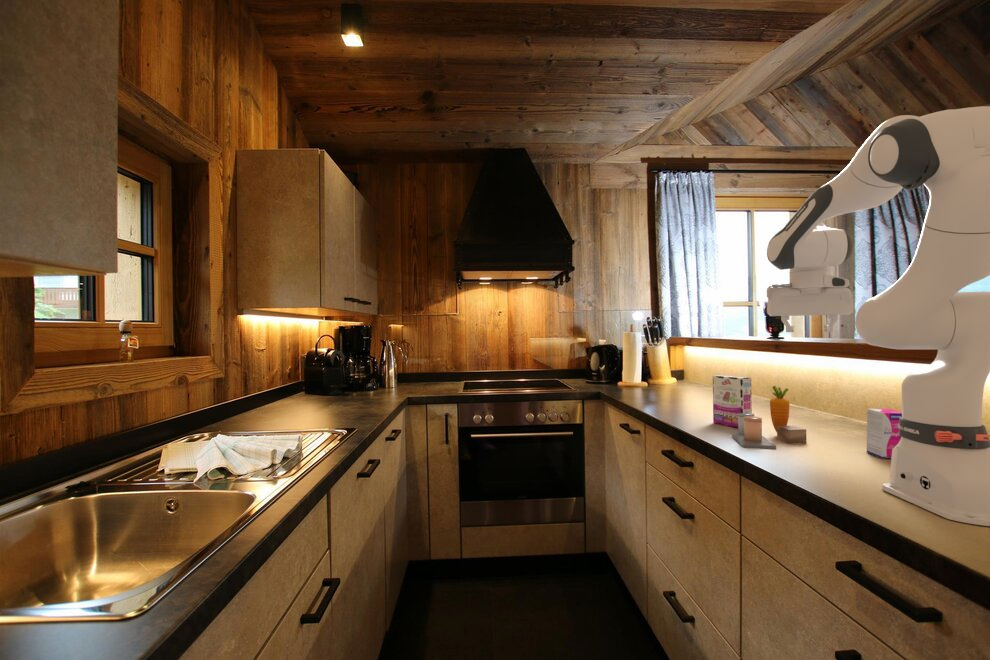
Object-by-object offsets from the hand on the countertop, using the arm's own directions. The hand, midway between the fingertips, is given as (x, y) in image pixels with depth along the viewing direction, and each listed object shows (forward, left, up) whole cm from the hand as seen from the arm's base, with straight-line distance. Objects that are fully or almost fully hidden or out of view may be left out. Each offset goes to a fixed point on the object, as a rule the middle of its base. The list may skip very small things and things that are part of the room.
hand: (809, 332), depth 126 cm
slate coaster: (-2, +15, -31) cm, 35 cm away
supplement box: (-10, -13, -31) cm, 35 cm away
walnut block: (+2, +4, -31) cm, 32 cm away
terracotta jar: (-2, +15, -30) cm, 34 cm away
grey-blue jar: (+8, +14, -31) cm, 35 cm away
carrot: (+8, +5, -31) cm, 33 cm away
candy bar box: (+21, +15, -31) cm, 41 cm away
